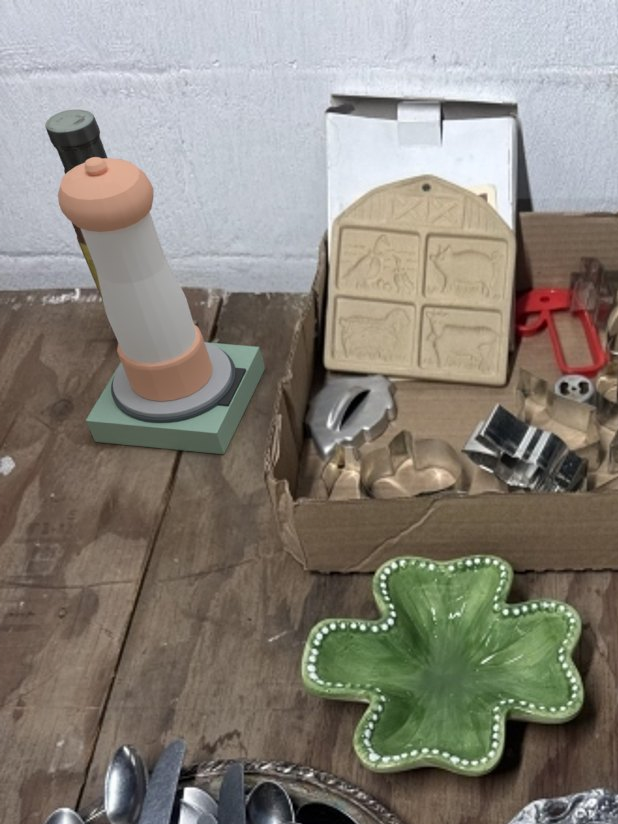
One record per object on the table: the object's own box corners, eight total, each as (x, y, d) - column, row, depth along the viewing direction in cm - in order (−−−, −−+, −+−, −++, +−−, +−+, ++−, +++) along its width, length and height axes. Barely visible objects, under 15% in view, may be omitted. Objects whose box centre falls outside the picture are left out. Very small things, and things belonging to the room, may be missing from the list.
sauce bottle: (193, 336, 103) (122, 125, 87) (132, 360, 102) (48, 149, 85) (166, 303, 107) (93, 94, 90) (106, 326, 105) (21, 116, 88)
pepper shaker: (185, 409, 92) (107, 193, 77) (113, 391, 94) (22, 176, 78) (227, 358, 96) (161, 143, 80) (158, 342, 98) (79, 128, 82)
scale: (95, 442, 95) (81, 413, 92) (144, 357, 102) (133, 328, 99) (224, 454, 94) (214, 425, 91) (265, 368, 100) (257, 339, 98)
